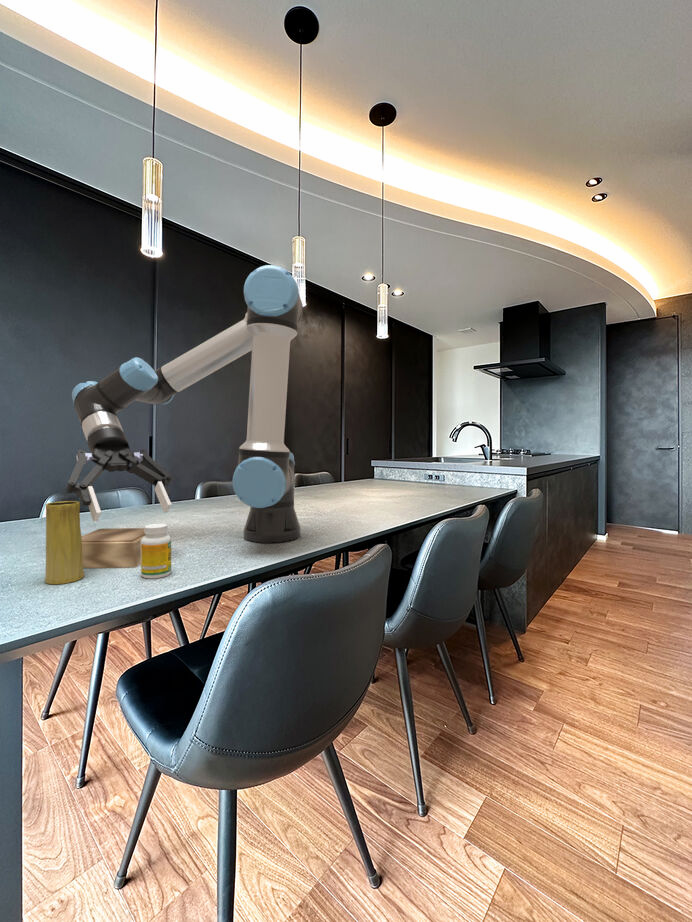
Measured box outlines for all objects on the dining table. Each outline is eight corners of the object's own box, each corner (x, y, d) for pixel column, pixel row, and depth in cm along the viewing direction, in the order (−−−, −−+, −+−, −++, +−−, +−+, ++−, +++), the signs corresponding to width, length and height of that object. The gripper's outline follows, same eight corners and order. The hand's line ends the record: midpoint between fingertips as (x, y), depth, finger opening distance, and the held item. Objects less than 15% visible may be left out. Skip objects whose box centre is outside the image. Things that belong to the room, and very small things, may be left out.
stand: (160, 549, 99) (160, 527, 98) (135, 567, 85) (135, 541, 84) (99, 550, 98) (99, 527, 97) (63, 568, 84) (62, 542, 83)
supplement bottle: (139, 573, 81) (138, 524, 81) (169, 568, 84) (168, 521, 83) (142, 581, 77) (141, 529, 76) (173, 576, 79) (173, 526, 79)
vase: (55, 587, 73) (53, 506, 72) (38, 581, 76) (35, 503, 75) (91, 577, 78) (89, 502, 78) (73, 572, 81) (71, 499, 81)
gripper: (156, 448, 104) (186, 515, 95) (34, 449, 85) (58, 533, 76) (166, 427, 100) (198, 495, 91) (41, 423, 82) (66, 508, 73)
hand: (134, 512), depth 84 cm, fingers open, 13 cm apart
